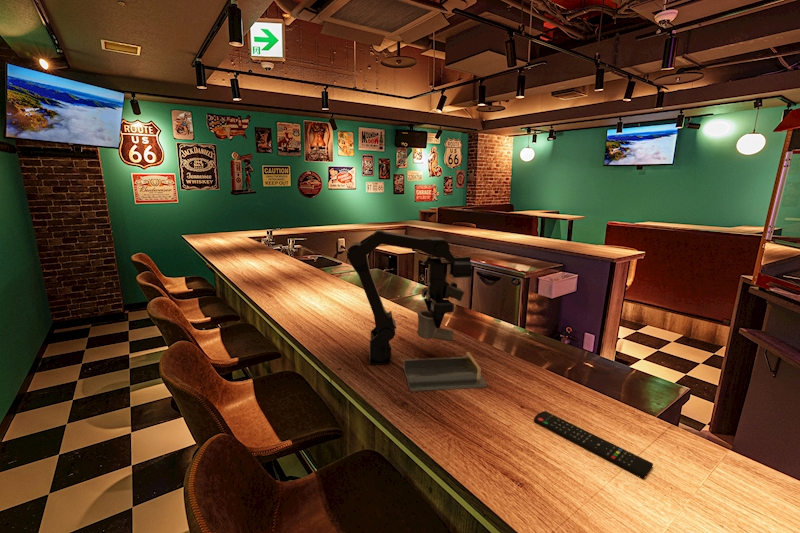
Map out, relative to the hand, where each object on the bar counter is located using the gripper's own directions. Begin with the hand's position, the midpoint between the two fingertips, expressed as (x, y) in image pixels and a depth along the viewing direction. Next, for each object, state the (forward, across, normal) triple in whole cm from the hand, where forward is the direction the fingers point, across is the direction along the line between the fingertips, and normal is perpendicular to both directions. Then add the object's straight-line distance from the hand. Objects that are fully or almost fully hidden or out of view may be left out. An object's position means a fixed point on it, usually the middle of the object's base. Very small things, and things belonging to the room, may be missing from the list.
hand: (435, 324), depth 120 cm
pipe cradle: (+12, -12, 0) cm, 17 cm away
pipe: (+5, 0, +1) cm, 5 cm away
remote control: (+13, -44, -24) cm, 52 cm away
